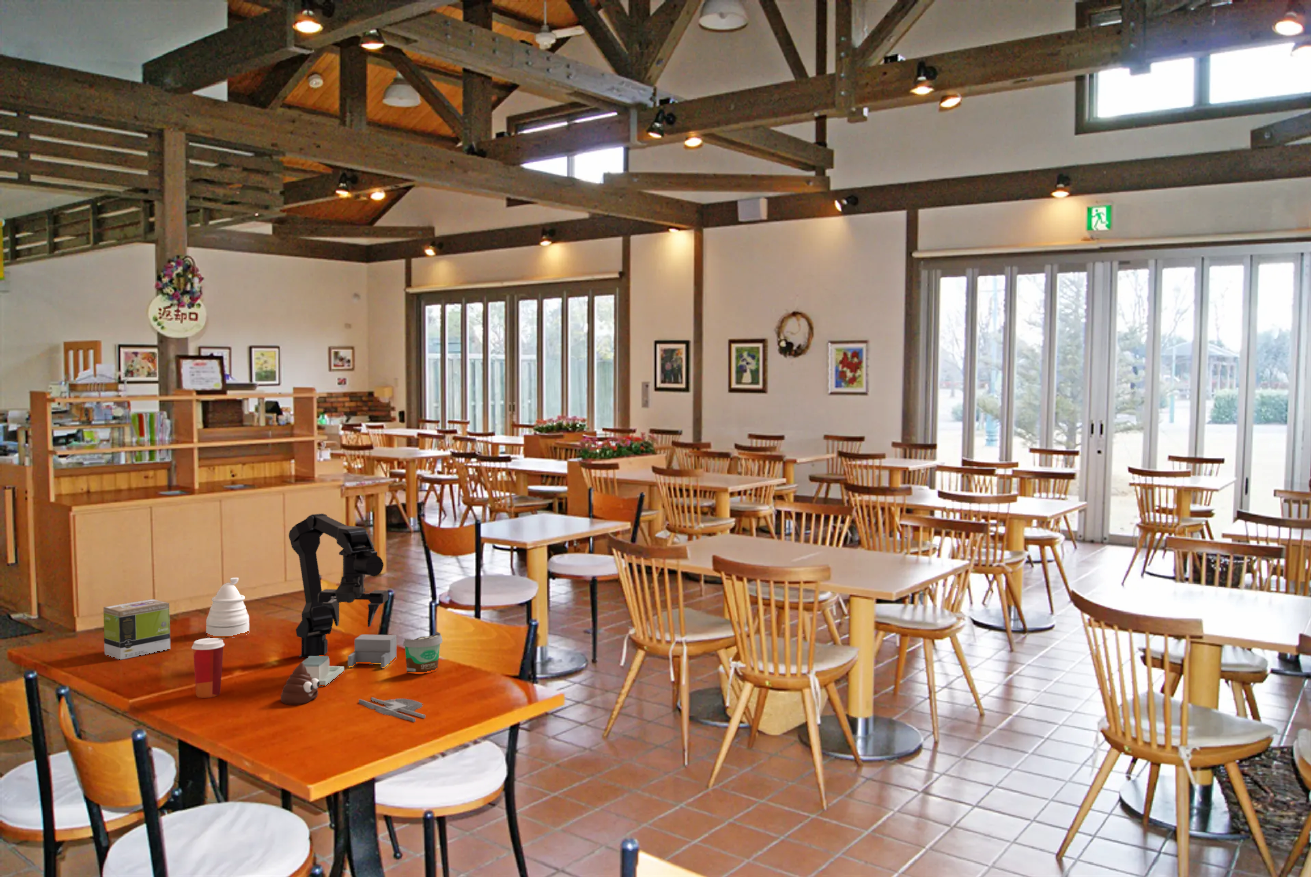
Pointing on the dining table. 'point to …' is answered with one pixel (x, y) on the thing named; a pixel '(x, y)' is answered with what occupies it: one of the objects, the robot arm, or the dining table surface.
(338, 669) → the tray
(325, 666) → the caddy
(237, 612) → the honey pot
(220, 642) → the paper cup
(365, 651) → the bay
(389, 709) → the grey toy spaceship
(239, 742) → the dining table surface
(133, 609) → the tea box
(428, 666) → the food container
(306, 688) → the poop emoji
